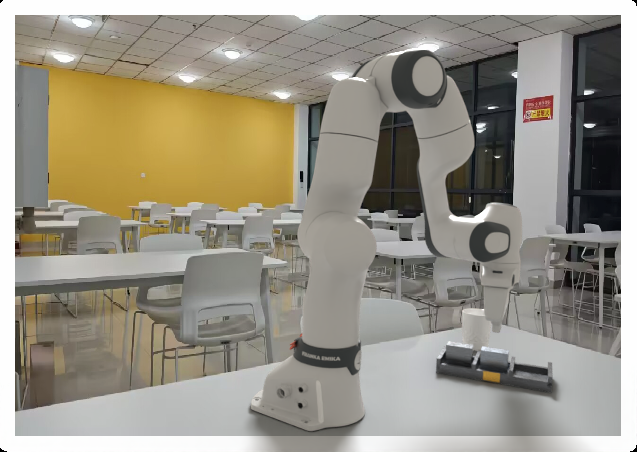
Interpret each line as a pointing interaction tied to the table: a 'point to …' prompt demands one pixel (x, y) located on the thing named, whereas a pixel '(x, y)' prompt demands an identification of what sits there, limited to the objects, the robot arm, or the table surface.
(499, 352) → the grey upright block
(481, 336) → the white cup
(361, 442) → the table surface
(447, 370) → the rack
